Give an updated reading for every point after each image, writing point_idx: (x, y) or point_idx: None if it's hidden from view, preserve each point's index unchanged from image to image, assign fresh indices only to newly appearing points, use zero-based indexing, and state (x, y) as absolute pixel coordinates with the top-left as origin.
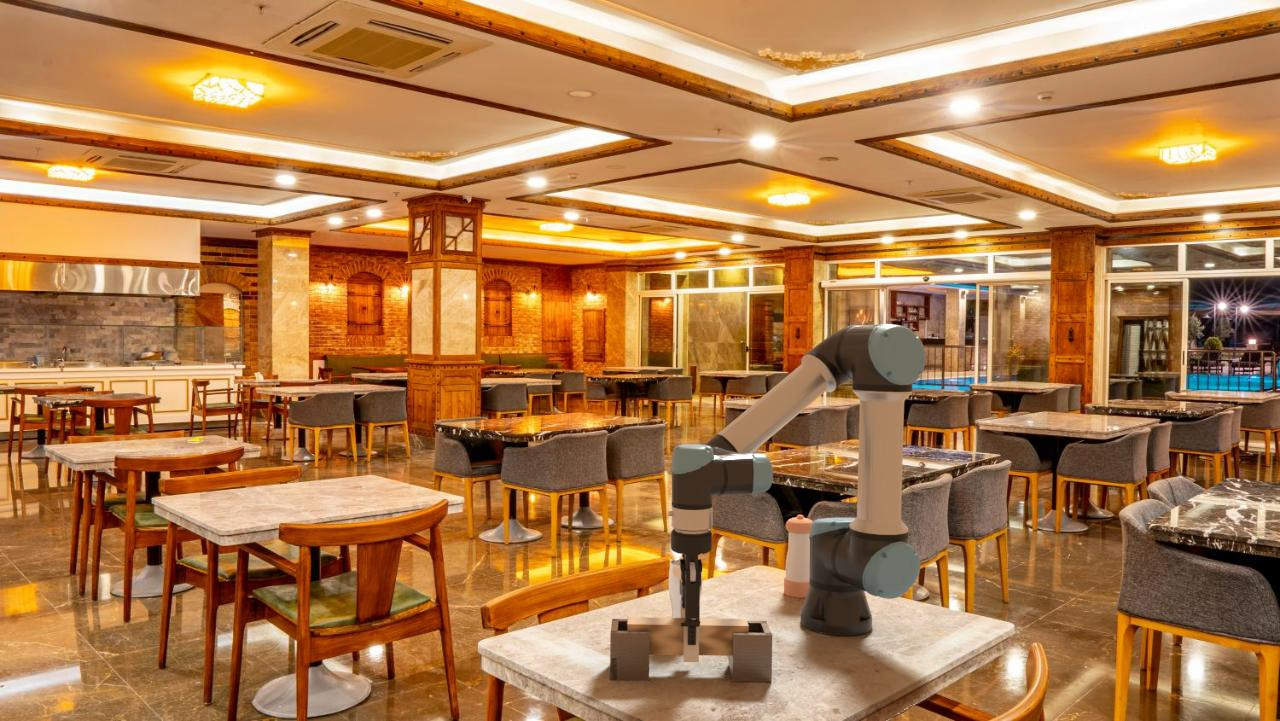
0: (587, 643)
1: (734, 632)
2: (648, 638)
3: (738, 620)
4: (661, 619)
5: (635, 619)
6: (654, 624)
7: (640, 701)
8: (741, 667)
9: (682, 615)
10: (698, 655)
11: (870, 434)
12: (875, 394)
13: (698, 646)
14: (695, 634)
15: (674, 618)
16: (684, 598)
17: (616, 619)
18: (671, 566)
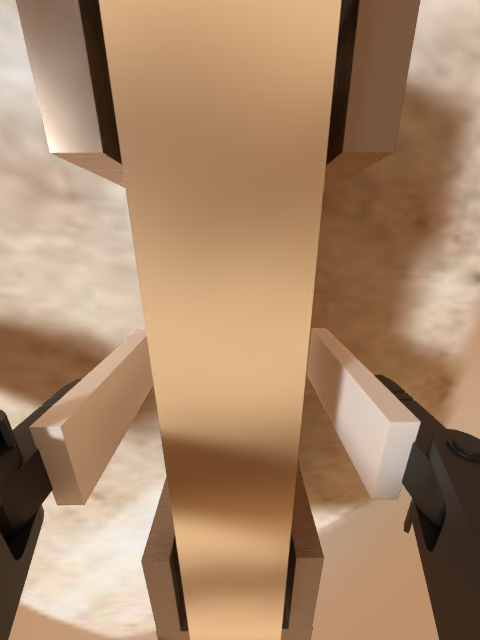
0: (78, 528)
1: (346, 133)
2: (317, 535)
3: (162, 32)
4: (206, 556)
5: (217, 627)
6: (284, 577)
7: None
8: None
9: (101, 471)
10: (334, 338)
11: None
12: None
13: (352, 355)
14: (426, 412)
15: (183, 511)
16: (6, 624)
17: (164, 635)
18: None
